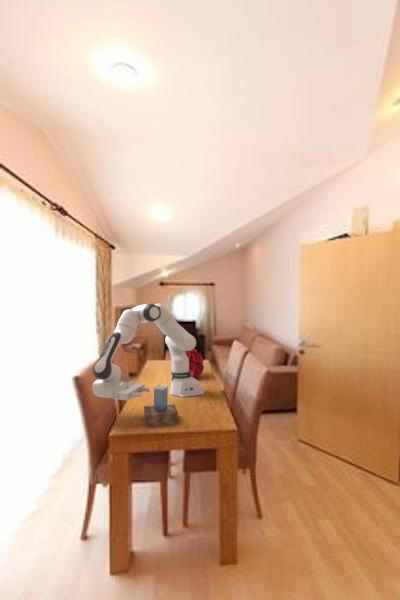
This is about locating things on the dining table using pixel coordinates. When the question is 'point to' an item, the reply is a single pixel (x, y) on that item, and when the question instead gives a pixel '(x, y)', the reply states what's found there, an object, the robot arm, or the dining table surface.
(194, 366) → the bouquet
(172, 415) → the walnut box
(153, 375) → the dining table surface
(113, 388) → the robot arm
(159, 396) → the slate tin
